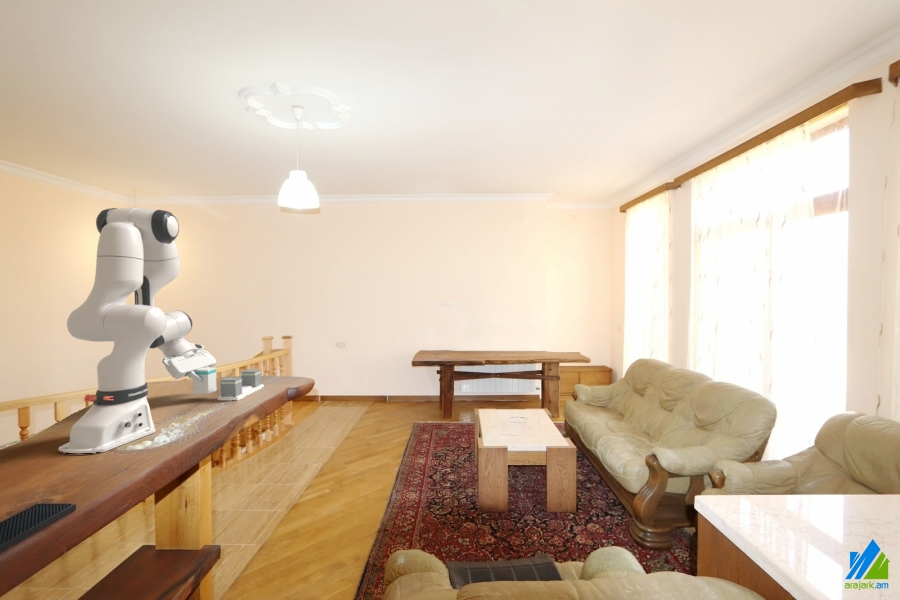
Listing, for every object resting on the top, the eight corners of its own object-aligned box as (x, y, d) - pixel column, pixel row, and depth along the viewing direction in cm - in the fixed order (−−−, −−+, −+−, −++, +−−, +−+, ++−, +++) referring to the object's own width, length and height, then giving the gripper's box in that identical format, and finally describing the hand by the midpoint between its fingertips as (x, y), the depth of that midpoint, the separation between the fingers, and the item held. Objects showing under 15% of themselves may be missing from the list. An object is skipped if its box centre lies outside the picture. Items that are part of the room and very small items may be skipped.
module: (208, 393, 151) (207, 370, 151) (193, 393, 152) (192, 369, 152) (216, 390, 156) (215, 367, 156) (201, 390, 156) (201, 367, 156)
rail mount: (237, 400, 152) (236, 380, 151) (217, 400, 152) (216, 380, 152) (263, 387, 169) (263, 369, 169) (245, 386, 170) (245, 369, 170)
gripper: (165, 352, 143) (191, 380, 143) (205, 344, 164) (228, 367, 163) (154, 364, 144) (180, 392, 144) (195, 354, 164) (218, 378, 164)
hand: (206, 379), depth 154 cm, fingers closed on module, 4 cm apart
